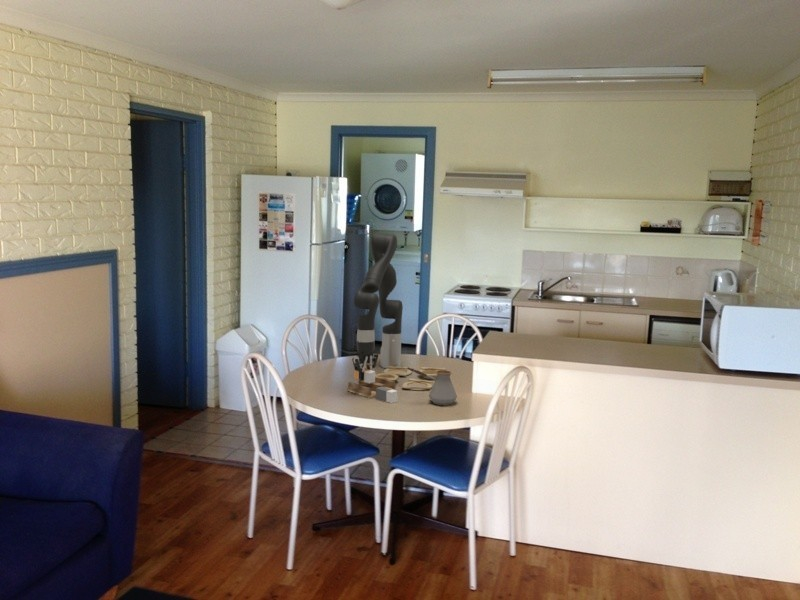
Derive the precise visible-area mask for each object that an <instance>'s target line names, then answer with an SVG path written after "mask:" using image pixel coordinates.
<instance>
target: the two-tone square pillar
mask: <svg viewBox="0 0 800 600" xmlns="http://www.w3.org/2000/svg"><path fill="white" fill-rule="evenodd" d="M398 396H399V391H398V390H397V389H396V390H393V389H389V388H386V387H378V388H376V397H375V399H376V400H379V399H380V400H379V401H382V400H383V401H382V402H385V401H386V403H389V402H390V403H389V404H394V403H397V401H398V398H399V397H398ZM393 402H394V403H393Z"/></svg>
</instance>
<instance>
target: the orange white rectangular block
mask: <svg viewBox="0 0 800 600" xmlns="http://www.w3.org/2000/svg"><path fill="white" fill-rule="evenodd" d="M361 369H362V366H361ZM376 374H377V373H376V371H375V370H373V369H372V370H369V369H367V368H366V367H365V368H364V380H363V382H366V383H373V382H375V375H376ZM353 379H356V380H358V381H359V371H356V370H355V369H354V371H353Z"/></svg>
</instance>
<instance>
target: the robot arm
mask: <svg viewBox="0 0 800 600" xmlns="http://www.w3.org/2000/svg"><path fill="white" fill-rule="evenodd" d="M370 238H371V239H370V249H371V254H372V257H373V261H374V264H373V265H371V266H370V268H369V269H368V270H367V272H366V275H365V278H364V281H363V283H362V285H361V286H360V288H359V289H358V290H357V291H356V293H355V295H354V297H353V306H354V307H355V308H356V309H358V310H366V311H367V310H368V313H365V314H361V315H358V317H357V332H356V351H357V355H356V357H353V358H352V359H351V361H352V365H353V368H354V371H355V370H356V371H359V380H361V381H363V380H364V368H366V369H369V370H372V371H373V369H375V368H376V366H377V362H378V358H379V354H377V353H374V351H375V350H376V349H375V346H376V345H375V343H376V342H375V341H376V337H375V335H376V333H375V332H376V331H375V320H376V315H377V311H378V307H379V313H380V317H381V318H382V319H389V320H394V321H393V322H392V323H390V324H389V323H388V324H385V325H383V327H382V332H381V333H382V336H381V337H382V341H381V347H380V358H379V359H380V361H379V362H380V363H379V366H380V367H382V368H383V369H388V368H387V366H392V367H401V363H402V362H401V359H402V318H403V309H404V308H403V302H402V301H401V300H400V299H388V297H389V295H390V294H391V293H392V292H393V290H394V289H395V288H396V285H397V282H398V281H397V280H398V279H397V272H396V269H395V268H394V266H393V265H392V264H391V261H392V259H393V257H394V255H395V253H396V251H397V247H398V238H397V235H395V234H392V233H387V232H374V233H372V235H371V237H370ZM377 292H378V294H377ZM361 367H362V369H361ZM359 380H358V381H359Z"/></svg>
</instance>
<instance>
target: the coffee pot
mask: <svg viewBox="0 0 800 600" xmlns="http://www.w3.org/2000/svg"><path fill="white" fill-rule="evenodd" d="M406 367H407V369H406V370H408V369H409V370H411V371H412V372H413V373H415V374H417V375H420V376H422V375H423V376H426V377H429V378H431V379H430V380H434V382H433V384H432V388H430V391H429V393H428V398H429V399H430V400H431V401H432V402H433V404H435V405H438V406H448V405H449V406H450V405H452V404H453V402H456V399H457V398H458V395H457V393H456V389H455V388H454V384H453V382H452V380H451V375H452V371H450V370H447V369H446V370H439V371H436V374H437V378H434V377H432V376H429V375H427V374H425V373H422V372H420V371H419V370H417V369H415V368H412V369H411V368H409V367H410V366H406ZM406 372H407V371H406ZM423 376H422V377H423Z"/></svg>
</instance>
